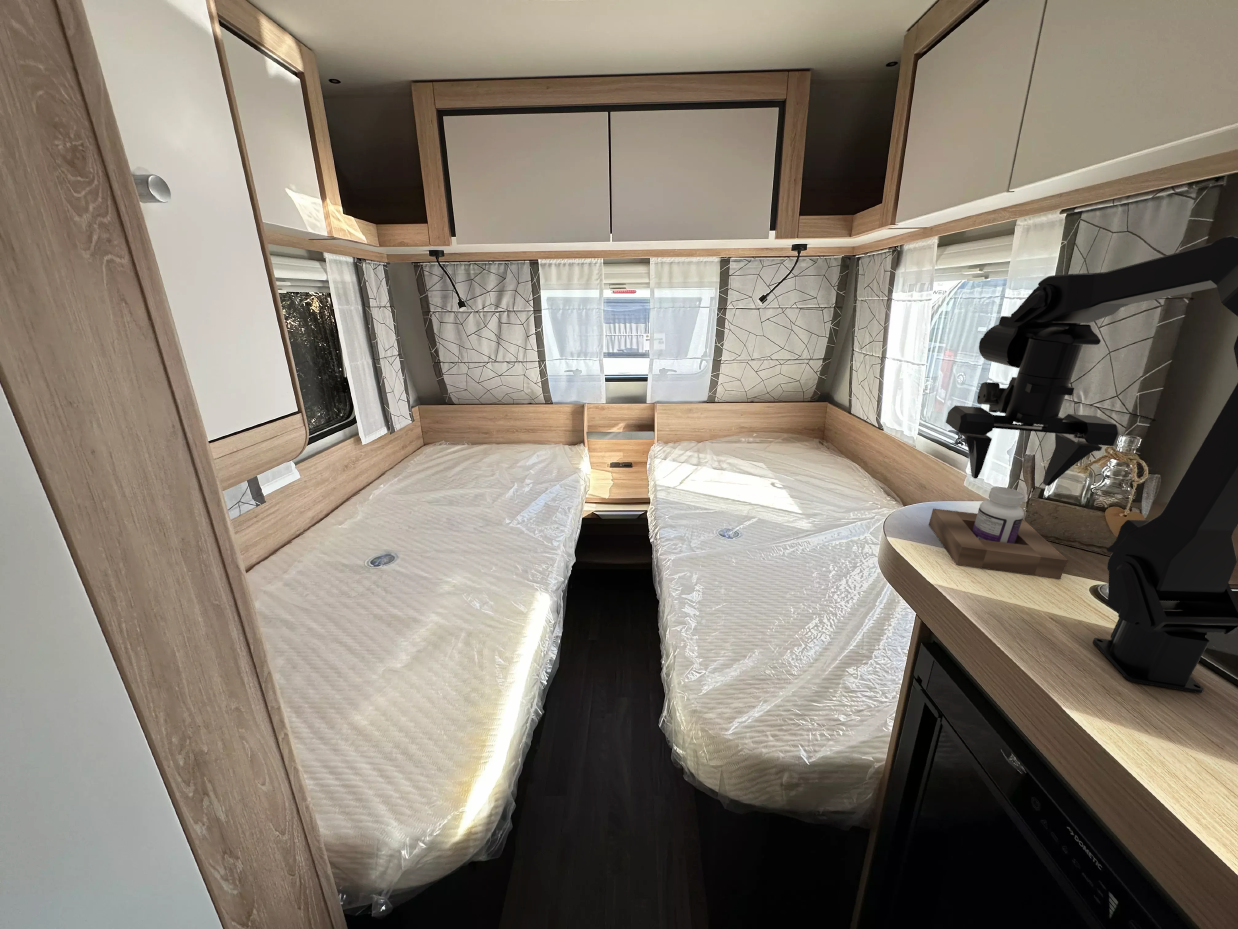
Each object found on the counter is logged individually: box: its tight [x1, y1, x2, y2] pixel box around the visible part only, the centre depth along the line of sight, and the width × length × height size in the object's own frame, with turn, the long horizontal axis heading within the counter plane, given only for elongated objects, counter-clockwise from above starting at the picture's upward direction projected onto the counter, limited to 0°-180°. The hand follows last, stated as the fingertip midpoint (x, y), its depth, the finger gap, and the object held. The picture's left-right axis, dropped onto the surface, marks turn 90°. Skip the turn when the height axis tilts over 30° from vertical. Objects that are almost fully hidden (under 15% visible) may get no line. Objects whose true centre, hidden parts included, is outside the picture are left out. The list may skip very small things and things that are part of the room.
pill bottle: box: [972, 486, 1025, 544], centre depth 76 cm, size 5×5×10 cm
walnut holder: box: [928, 508, 1068, 580], centre depth 77 cm, size 13×13×3 cm
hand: (1009, 481), depth 74 cm, fingers open, 9 cm apart
